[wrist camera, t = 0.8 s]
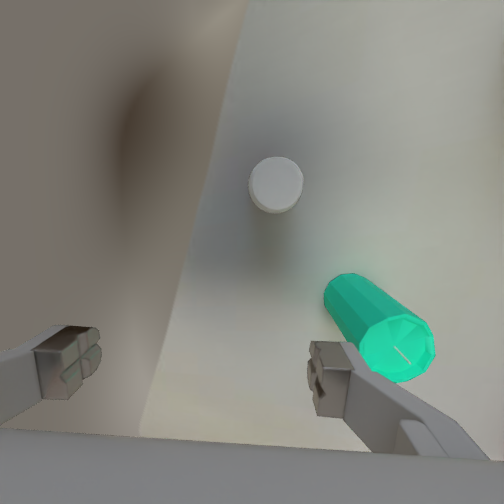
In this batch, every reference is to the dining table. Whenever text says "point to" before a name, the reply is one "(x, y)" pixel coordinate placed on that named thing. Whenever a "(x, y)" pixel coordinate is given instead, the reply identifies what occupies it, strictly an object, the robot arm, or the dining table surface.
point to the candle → (380, 328)
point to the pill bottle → (275, 184)
